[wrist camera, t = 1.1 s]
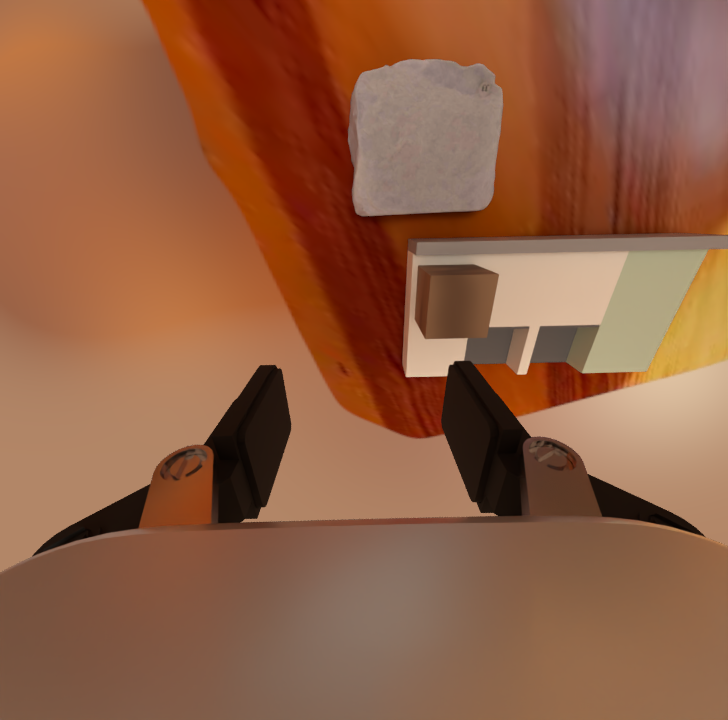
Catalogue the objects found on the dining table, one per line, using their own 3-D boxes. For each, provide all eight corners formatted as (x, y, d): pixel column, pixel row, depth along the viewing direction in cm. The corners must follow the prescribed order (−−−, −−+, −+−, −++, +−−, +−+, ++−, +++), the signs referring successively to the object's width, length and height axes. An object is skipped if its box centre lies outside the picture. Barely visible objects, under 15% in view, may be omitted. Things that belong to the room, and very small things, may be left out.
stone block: (344, 97, 23) (353, 227, 26) (341, 51, 19) (353, 215, 21) (484, 88, 23) (479, 218, 26) (516, 41, 19) (506, 205, 22)
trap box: (680, 232, 27) (737, 235, 23) (623, 359, 33) (659, 378, 29) (408, 238, 26) (417, 242, 22) (402, 364, 33) (408, 384, 29)
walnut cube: (474, 264, 25) (499, 274, 20) (465, 318, 27) (486, 337, 22) (418, 265, 25) (430, 275, 20) (414, 319, 27) (425, 339, 22)
